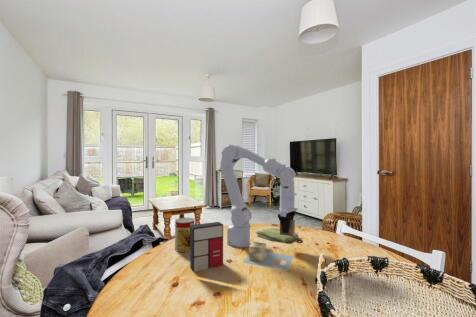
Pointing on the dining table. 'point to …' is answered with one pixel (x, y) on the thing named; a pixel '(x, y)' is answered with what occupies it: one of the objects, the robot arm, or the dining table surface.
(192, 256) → the grey toy cabinet
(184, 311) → the dining table surface
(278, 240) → the washcloth
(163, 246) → the dining table surface
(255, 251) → the birch block
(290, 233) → the walnut block
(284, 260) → the board
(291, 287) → the dining table surface
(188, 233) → the canned food
